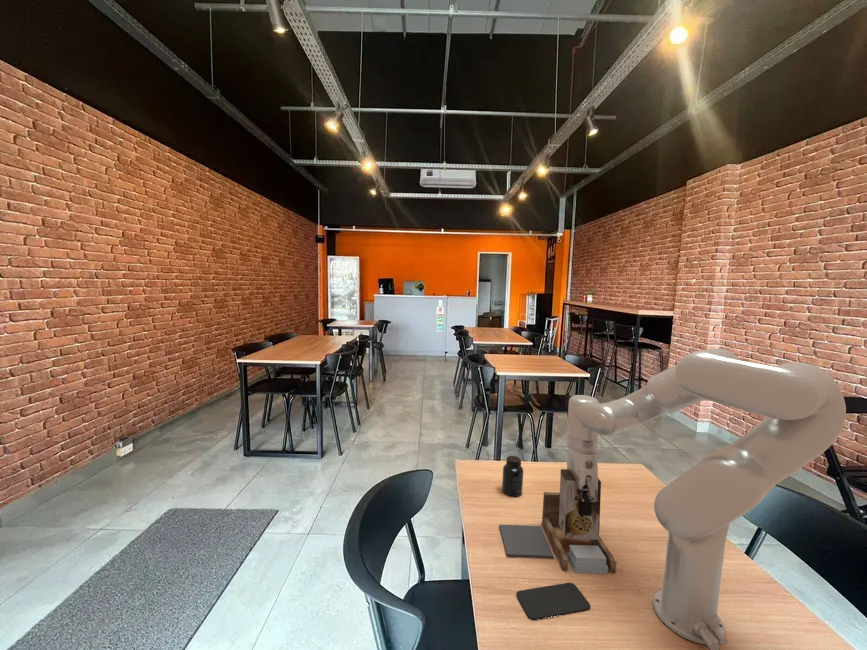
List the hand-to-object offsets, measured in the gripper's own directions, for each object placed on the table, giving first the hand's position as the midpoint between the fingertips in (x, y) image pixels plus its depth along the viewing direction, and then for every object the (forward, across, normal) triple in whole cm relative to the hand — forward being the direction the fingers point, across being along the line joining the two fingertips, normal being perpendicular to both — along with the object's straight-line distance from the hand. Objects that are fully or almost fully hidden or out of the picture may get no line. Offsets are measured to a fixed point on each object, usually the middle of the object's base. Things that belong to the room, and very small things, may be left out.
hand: (579, 506), depth 99 cm
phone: (+12, -18, +12) cm, 25 cm away
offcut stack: (+12, -7, 0) cm, 14 cm away
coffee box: (+7, 0, 0) cm, 7 cm away
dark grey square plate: (+11, +1, +14) cm, 18 cm away
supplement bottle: (+11, +26, +13) cm, 31 cm away
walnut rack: (+11, 0, +1) cm, 11 cm away
